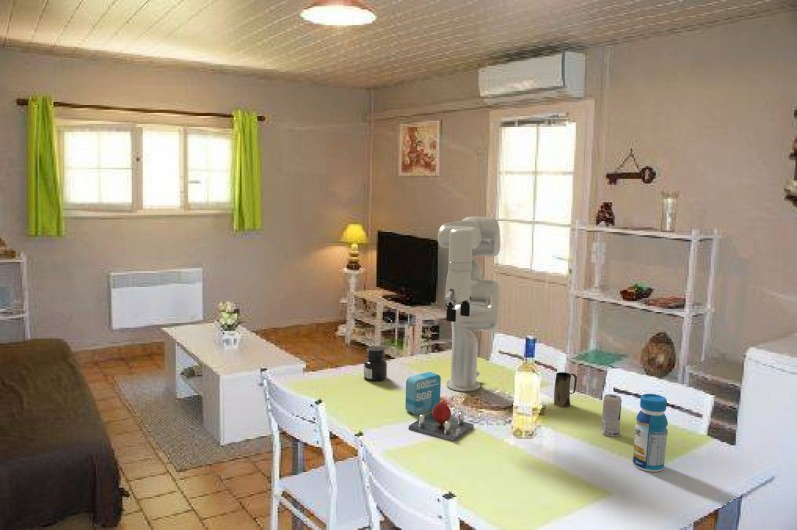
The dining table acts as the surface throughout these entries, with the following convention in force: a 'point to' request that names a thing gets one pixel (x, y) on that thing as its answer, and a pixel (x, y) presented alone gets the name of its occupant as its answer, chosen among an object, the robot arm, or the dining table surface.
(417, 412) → the data package
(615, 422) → the energy drink
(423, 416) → the grey pegged plate
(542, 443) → the dining table surface
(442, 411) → the onion
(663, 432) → the beverage bottle
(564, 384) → the mug
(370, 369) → the ink bottle
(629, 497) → the dining table surface
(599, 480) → the dining table surface
